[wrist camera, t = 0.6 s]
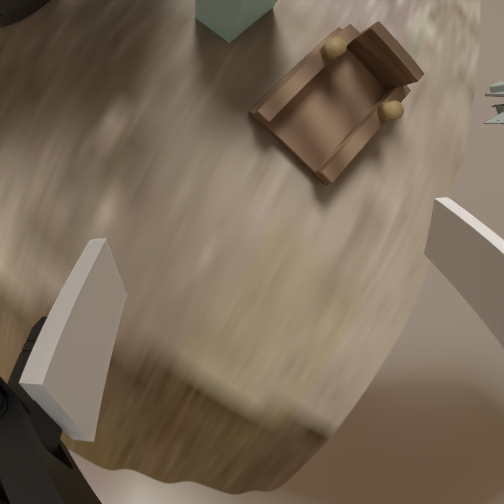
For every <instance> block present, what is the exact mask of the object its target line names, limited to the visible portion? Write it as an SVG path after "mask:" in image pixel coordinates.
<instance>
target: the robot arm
mask: <svg viewBox="0 0 504 504" xmlns="http://www.w3.org/2000/svg"><path fill="white" fill-rule="evenodd" d="M47 1H48V0H0V26H5V25H9V24H12V23H15V22H17V21H19V20H21V19H23V18H25V17H27V16H28V15H30V14H31V13H33V12H34V11H36V10H37V9H39V8H40V7H41V6H42V5H44V4H45V3H46V2H47ZM424 254H425V255H426V256H427V257H428V258H429V259H430V261H431V262H432V263H433V264H434V265H435V266H436V267H437V268H438V269H439V270H440V271H441V272H442V274H443V275H444V276H445V277H446V278H447V279H448V280H449V281H450V282H451V284H452V285H453V286H454V287H455V288H456V289H457V291H458V292H459V293H460V294H461V295H462V296H463V298H464V299H465V300H466V301H467V302H468V303H469V305H470V306H471V307H472V308H473V309H474V311H475V312H476V313H477V314H478V315H479V317H480V318H481V319H482V320H483V322H484V323H485V324H486V326H487V327H488V328H489V329H490V331H491V332H492V333H493V335H494V336H495V337H496V338H497V340H498V341H499V343H500V344H501V345H502V347H503V348H504V240H502V239H501V238H500V237H499V236H498V235H497V234H495V233H494V232H493V231H492V230H490V229H489V228H488V227H487V226H485V225H484V224H483V223H481V222H480V221H479V220H478V219H476V218H475V217H474V216H472V215H471V214H470V213H468V212H467V211H466V210H464V209H463V208H462V207H460V206H459V205H457V204H456V203H455V202H453V201H452V200H451V199H449V198H448V197H446V198H435V199H434V205H433V211H432V217H431V223H430V228H429V233H428V238H427V243H426V248H425V252H424ZM127 296H128V295H127V293H126V290H125V287H124V285H123V282H122V279H121V276H120V274H119V271H118V268H117V265H116V262H115V259H114V256H113V253H112V250H111V247H110V244H109V241H108V238H107V237H106V238H100V239H94V240H89V242H88V244H87V245H86V247H85V249H84V250H83V252H82V254H81V256H80V257H79V259H78V261H77V262H76V264H75V266H74V268H73V269H72V271H71V273H70V275H69V277H68V278H67V280H66V282H65V284H64V286H63V288H62V290H61V291H60V293H59V295H58V297H57V299H56V301H55V303H54V305H53V307H52V309H51V311H50V313H49V315H48V316H47V317H42V318H41V319H40V320H39V321H38V322H37V323H36V324H35V326H34V327H33V328H32V330H31V332H30V334H29V336H28V338H27V343H25V344H24V346H23V349H22V353H20V355H19V357H18V360H17V362H16V364H15V367H14V369H13V371H12V374H11V376H10V379H9V381H8V383H7V384H6V383H5V381H4V380H3V379H2V378H1V377H0V504H102V503H101V502H100V500H99V499H98V497H97V496H96V495H95V493H94V492H93V490H92V489H91V487H90V486H89V484H88V483H87V481H86V480H85V478H84V476H83V475H82V473H81V472H80V470H79V468H78V467H77V465H76V463H75V462H74V460H73V458H72V457H71V455H70V453H69V451H68V449H67V448H66V446H65V444H64V443H63V442H62V441H61V440H60V437H61V432H62V430H63V431H64V432H65V433H66V434H67V435H68V436H69V437H70V438H71V439H72V440H82V441H93V442H94V440H95V433H96V428H97V422H98V416H99V411H100V406H101V401H102V396H103V391H104V386H105V382H106V377H107V373H108V368H109V364H110V360H111V356H112V352H113V348H114V344H115V340H116V336H117V332H118V328H119V324H120V321H121V317H122V313H123V310H124V306H125V303H126V299H127Z"/></svg>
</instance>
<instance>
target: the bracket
mask: <svg viewBox="0 0 504 504" xmlns="http://www.w3.org/2000/svg"><path fill="white" fill-rule="evenodd" d="M489 88H490V91H491V93H485V96H495V97H504V81H502V82H498V83H496V84H493V85H491V86H489ZM492 107H496V109H497V112H498V115H497V116H495V117H493V118H492V119H490V120H488V121H486V122H485V123H484V124H497V123H501V124H504V104H501V105H494V106H492Z"/></svg>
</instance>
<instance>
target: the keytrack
mask: <svg viewBox="0 0 504 504" xmlns="http://www.w3.org/2000/svg"><path fill="white" fill-rule="evenodd" d="M423 75H424V73H423V71H422V70H421V69H420V68H419V66H418V65H417V64H416V63H415V61H414V60H413V59H412V58H411V57H410V55H409V54H408V53H407V52H406V51H405V49H404V48H403V47H402V46H401V45H400V44H399V43H398V41H397V40H396V39H395V38H394V37H393V36H392V35H391V34H390V33H389V31H388V30H387V29H386V28H385V27H384V26H383V25H382V24H381V23H380V22H379V21H378V22H377V23H375V24H374V25H372V26H371V27H369V28H368V29H366V30H365V31H363V32H362V33H359V32H358V31H357V30H356V29H355V28H354V27H353V26H352V25H351V24H349V25H348V26H347V27H346V28H344V29H343V30H342V29H341V28H340V27H339V28H337V29H336V30H335V31H334V32H333V33H331V34H330V35H329V36H328V37H327V38H326V39H325V40H323V41H322V42H321V43H320V44H319V45H318V46H317V47H316V48H314V49H313V50H312V51H311V52H310V53H309V54H308V55H307V56H306V57H305V58H304V59H302V60H301V61H300V62H299V63H298V64H297V65H296V66H295V67H294V68H293V69H292V70H291V71H290V72H289V73H288V74H286V75H285V76H284V77H283V78H282V79H281V80H280V81H279V82H278V83H277V84H276V85H275V86H274V87H273V88H272V89H271V90H270V91H269V92H268V93H267V94H266V95H265V96H264V97H263V98H262V99H261V100H260V101H259V102H258V103H257V104H256V105H255V106H254V107H253V108H252V109H251V110H250V111H249V112H248V113H249V114H250V115H251V116H252V117H253V118H254V119H256V120H257V121H258V122H259V123H260V124H261V125H262V126H263V127H264V128H266V129H267V130H268V131H269V132H270V133H271V134H272V135H273V136H274V137H275V138H276V139H277V140H279V141H280V142H281V143H282V144H283V145H284V146H285V147H286V148H287V149H288V150H289V151H290V152H291V153H292V154H293V155H294V156H295V157H296V158H297V159H299V160H300V161H301V162H302V163H303V164H304V165H305V166H306V167H307V168H308V169H309V170H310V171H311V172H312V173H313V174H314V175H315V176H316V177H317V178H318V179H319V180H320V181H321V182H322V183H323V184H325V185H328V184H329V183H330V182H331V183H333V181H334V180H335V179H336V178H337V177H338V176H339V174H340V173H341V172H342V171H343V170H344V169H345V167H346V166H347V165H348V164H349V163H350V162H351V160H352V159H353V158H354V157H355V156H356V155H357V153H358V152H359V151H360V150H361V149H362V148H363V146H364V145H365V144H366V143H367V142H368V141H369V139H370V138H371V137H372V136H373V135H374V134H375V132H376V131H377V130H378V129H379V128H380V127H381V125H382V124H383V123H384V122H385V121H386V120H389V119H395V118H400V117H402V115H403V113H404V109H403V106H402V104H401V102H402V101H403V99H404V98H405V97H406V96H407V95H408V93H409V92H410V91H411V90H410V89H409V88H408V86H407V84H411V83H414V82H418V81H419V80H420V78H421V77H422V76H423Z"/></svg>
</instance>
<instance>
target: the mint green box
mask: <svg viewBox="0 0 504 504" xmlns="http://www.w3.org/2000/svg"><path fill="white" fill-rule="evenodd" d="M276 1H277V0H196V3H195V18H196V19H197V20H199V21H200V22H202V23H203V24H204V25H206V26H207V27H208V28H210V29H211V30H212V31H214V32H215V33H216V34H218V35H219V36H220V37H222V38H223V39H224V40H225V41H227V42H228V43H229V44H230V43H231V42H232V41H233V40H234V39H235V38H237V37H238V36H239V35H240V34H241V33H242V32H244V31H245V30H246V29H247V28H248V27H250V26H251V25H252V24H253V23H254V22H256V21H257V20H258V19H259V18H261V17H262V16H263V15H264V14H266V13H267V12H268V11H269V10H271V9H272V8H273V7H274V5H275V3H276Z"/></svg>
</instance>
